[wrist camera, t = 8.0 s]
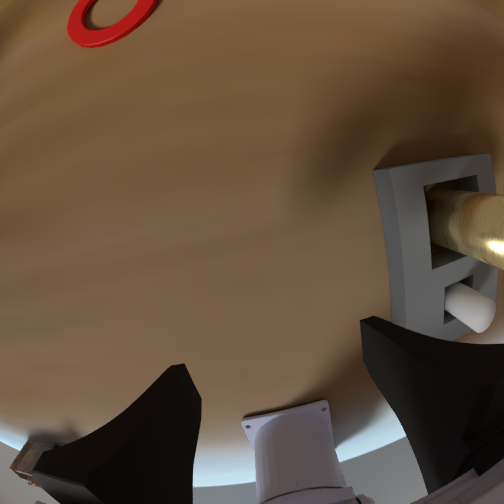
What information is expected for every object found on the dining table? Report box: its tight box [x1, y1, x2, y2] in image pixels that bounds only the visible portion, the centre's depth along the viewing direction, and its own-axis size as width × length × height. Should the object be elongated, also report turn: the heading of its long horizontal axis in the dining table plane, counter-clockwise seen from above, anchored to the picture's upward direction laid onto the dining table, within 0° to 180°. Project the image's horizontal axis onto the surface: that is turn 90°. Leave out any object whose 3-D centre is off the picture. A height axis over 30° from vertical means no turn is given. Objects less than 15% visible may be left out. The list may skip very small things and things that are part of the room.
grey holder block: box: [372, 153, 498, 341], centre depth 17 cm, size 15×11×6 cm
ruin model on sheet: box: [10, 441, 65, 488], centre depth 21 cm, size 11×3×10 cm, turn 113°
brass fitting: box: [425, 189, 504, 270], centre depth 14 cm, size 4×4×9 cm
